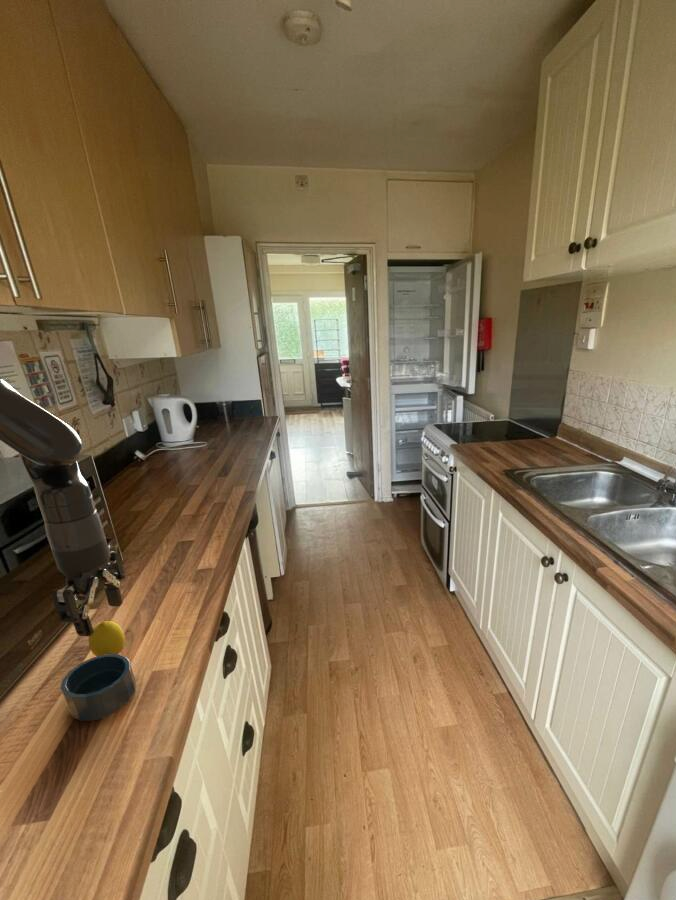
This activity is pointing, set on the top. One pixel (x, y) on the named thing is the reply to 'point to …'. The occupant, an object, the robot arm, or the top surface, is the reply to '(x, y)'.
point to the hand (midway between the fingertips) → (102, 619)
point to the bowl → (98, 687)
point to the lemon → (106, 639)
